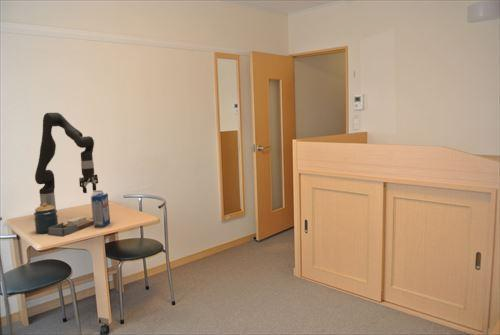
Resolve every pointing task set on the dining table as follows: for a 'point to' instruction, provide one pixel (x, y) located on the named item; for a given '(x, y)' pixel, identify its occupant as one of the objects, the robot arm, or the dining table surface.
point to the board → (82, 225)
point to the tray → (61, 230)
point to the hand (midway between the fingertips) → (89, 191)
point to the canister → (45, 218)
